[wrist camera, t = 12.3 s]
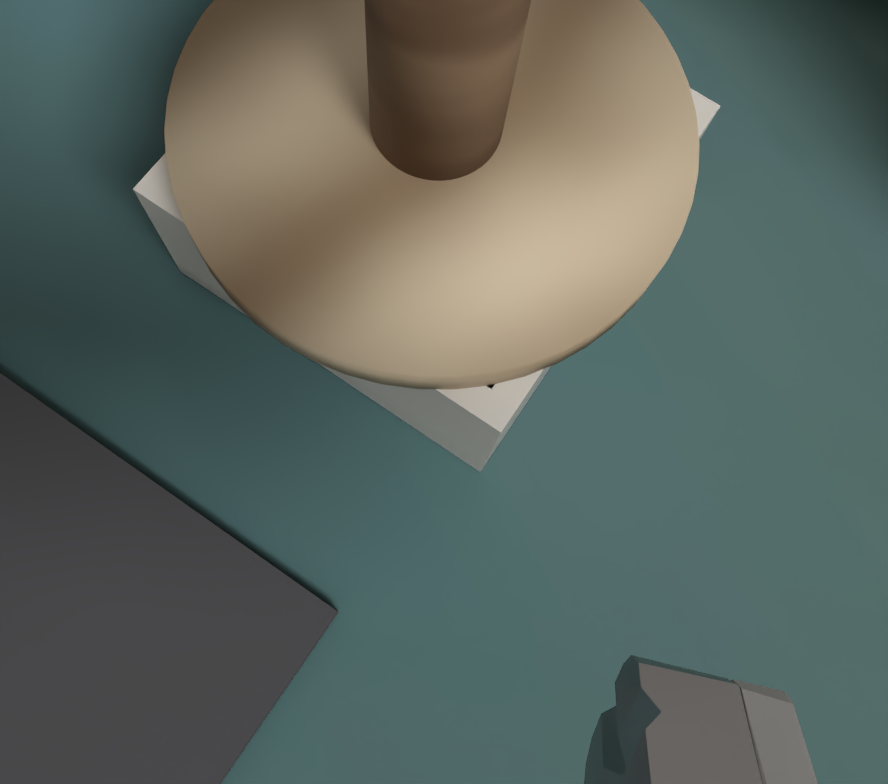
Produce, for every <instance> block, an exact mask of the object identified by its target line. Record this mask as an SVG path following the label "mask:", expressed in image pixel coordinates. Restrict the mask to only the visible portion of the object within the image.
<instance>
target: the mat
mask: <svg viewBox="0 0 888 784" xmlns="http://www.w3.org/2000/svg"><path fill="white" fill-rule="evenodd" d="M337 613H338V611H336V610H335V609H334V608H332V607H331V606H329V605H328V604H327V603H325V602H324V601H322V600H321V599H320V598H318V597H317V596H315V595H314V594H312V593H311V592H310V591H308V590H307V589H305V588H304V587H303V586H301V585H300V584H298V583H297V582H295V581H294V580H293V579H291V578H290V577H288V576H287V575H286V574H284V573H283V572H281V571H280V570H278V569H277V568H276V567H274V566H273V565H271V564H270V563H269V562H267V561H266V560H264V559H263V558H261V557H260V556H259V555H257V554H256V553H254V552H253V551H252V550H250V549H249V548H247V547H246V546H245V545H243V544H242V543H240V542H239V541H237V540H236V539H235V538H233V537H232V536H230V535H229V534H228V533H226V532H225V531H223V530H222V529H220V528H219V527H218V526H216V525H215V524H213V523H212V522H211V521H209V520H208V519H206V518H205V517H203V516H202V515H201V514H199V513H198V512H196V511H195V510H194V509H192V508H191V507H189V506H188V505H186V504H185V503H184V502H182V501H181V500H179V499H178V498H177V497H175V496H174V495H172V494H171V493H170V492H168V491H167V490H165V489H164V488H162V487H161V486H160V485H158V484H157V483H155V482H154V481H153V480H151V479H150V478H148V477H147V476H145V475H144V474H143V473H141V472H140V471H138V470H137V469H136V468H134V467H133V466H131V465H130V464H128V463H127V462H126V461H124V460H123V459H121V458H120V457H119V456H117V455H116V454H114V453H113V452H111V451H110V450H109V449H107V448H106V447H104V446H103V445H102V444H100V443H99V442H97V441H96V440H95V439H93V438H92V437H90V436H89V435H87V434H86V433H85V432H83V431H82V430H80V429H79V428H78V427H76V426H75V425H73V424H72V423H70V422H69V421H68V420H66V419H65V418H63V417H62V416H61V415H59V414H58V413H56V412H55V411H53V410H52V409H51V408H49V407H48V406H46V405H45V404H44V403H42V402H41V401H39V400H38V399H36V398H35V397H34V396H32V395H31V394H29V393H28V392H27V391H25V390H24V389H22V388H21V387H20V386H18V385H17V384H15V383H14V382H12V381H11V380H10V379H8V378H7V377H5V376H4V375H3V374H1V373H0V784H221V782H222V781H223V779H224V778H225V776H226V775H227V774H228V772H229V771H230V769H231V768H232V766H233V765H234V763H235V762H236V760H237V759H238V758H239V756H240V755H241V753H242V752H243V750H244V749H245V747H246V746H247V744H248V743H249V742H250V740H251V739H252V737H253V736H254V734H255V733H256V731H257V730H258V728H259V727H260V726H261V724H262V723H263V721H264V720H265V718H266V717H267V715H268V714H269V712H270V711H271V710H272V708H273V707H274V705H275V704H276V702H277V701H278V699H279V698H280V696H281V695H282V693H283V692H284V691H285V689H286V688H287V686H288V685H289V683H290V682H291V680H292V679H293V677H294V676H295V675H296V673H297V672H298V670H299V669H300V667H301V666H302V664H303V663H304V661H305V660H306V659H307V657H308V656H309V654H310V653H311V651H312V650H313V648H314V647H315V645H316V644H317V643H318V641H319V640H320V638H321V637H322V635H323V634H324V632H325V631H326V629H327V628H328V627H329V625H330V624H331V622H332V621H333V619H334V618H335V616H336V615H337Z"/></svg>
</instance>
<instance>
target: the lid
mask: <svg viewBox="0 0 888 784" xmlns="http://www.w3.org/2000/svg"><path fill="white" fill-rule="evenodd" d="M164 134H165V151H166V163H167V168H168V173H169V177H170V182H171V187H172V191H173V195H174V197H175V200H176V203H177V205H178V208H179V210H180V213H181V216H182V218H183V221H184V224H185V226H186V228H187V230H188V232H189V234H190V236H191V238H192V240H193V242H194V244H195V246H196V247H197V249H198V251H199V253H200V254H201V256H202V258H203V260H204V262H205V263H206V265H207V267H208V269H209V271H210V272H211V274H212V275H213V276H214V278H215V279H216V280H217V282H218V283H219V284H220V286H221V287H222V288H223V290H224V291H225V292H226V294H227V295H228V296H229V297H230V299H231V300H232V301H233V302H234V303H235V304H236V305H237V306H238V307H239V308H240V309H241V310H242V311H243V312H244V313H245V314H246V315H247V316H248V317H249V318H250V319H251V320H252V321H253V322H254V323H255V324H257V325H258V326H259V327H261V328H262V329H263V330H265V331H266V332H267V333H269V334H270V335H271V336H273V337H274V338H275V339H277V340H278V341H279V342H281V343H282V344H283V345H285V346H287V347H289V348H291V349H292V350H294V351H296V352H298V353H299V354H301V355H303V356H305V357H306V358H308V359H310V360H312V361H314V362H316V363H318V364H321V365H323V366H326V367H328V368H331V369H333V370H336V371H338V372H341V373H343V374H346V375H348V376H352V377H356V378H360V379H364V380H367V381H371V382H375V383H379V384H383V385H390V386H398V387H405V388H413V389H463V388H471V387H479V386H488V385H493V384H497V383H501V382H505V381H509V380H513V379H517V378H521V377H524V376H527V375H529V374H532V373H535V372H537V371H540V370H542V369H545V368H547V367H550V366H552V365H555V364H557V363H559V362H561V361H562V360H564V359H566V358H568V357H569V356H571V355H573V354H575V353H577V352H578V351H580V350H582V349H584V348H586V347H587V346H588V345H590V344H591V343H592V342H594V341H595V340H596V339H597V338H599V337H600V336H601V335H603V334H604V333H605V332H607V331H608V330H609V329H611V328H612V327H613V326H614V325H615V324H616V323H617V322H618V321H619V320H620V319H621V318H622V317H623V316H624V315H625V314H626V313H627V312H628V311H629V310H630V309H631V308H632V307H633V306H634V305H635V304H636V302H637V301H638V300H639V298H640V297H641V296H642V294H643V293H644V292H645V290H646V289H647V287H648V286H649V285H650V283H651V282H652V281H653V279H654V278H655V277H656V275H657V274H658V273H659V271H660V270H661V268H662V267H663V266H664V264H665V263H666V262H667V260H668V258H669V256H670V254H671V252H672V251H673V249H674V247H675V245H676V243H677V241H678V239H679V237H680V236H681V234H682V231H683V228H684V226H685V223H686V220H687V217H688V214H689V211H690V209H691V206H692V203H693V197H694V192H695V187H696V182H697V177H698V165H699V135H698V125H697V116H696V110H695V106H694V102H693V99H692V95H691V91H690V87H689V83H688V81H687V78H686V76H685V73H684V71H683V68H682V66H681V64H680V61H679V59H678V56H677V54H676V53H675V51H674V49H673V47H672V46H671V44H670V42H669V40H668V39H667V37H666V35H665V33H664V32H663V30H662V28H661V27H660V26H659V24H658V23H657V22H656V20H655V19H654V18H653V17H652V15H651V14H650V13H649V11H648V10H647V9H646V7H645V6H644V5H643V4H642V3H641V2H640V1H639V0H213V1H212V3H211V4H210V5H209V6H208V8H207V9H206V10H205V11H204V13H203V14H202V15H201V17H200V19H199V20H198V22H197V24H196V25H195V27H194V29H193V30H192V32H191V34H190V35H189V37H188V39H187V41H186V43H185V45H184V48H183V50H182V52H181V55H180V57H179V60H178V62H177V65H176V67H175V69H174V73H173V77H172V81H171V85H170V89H169V93H168V97H167V106H166V116H165V127H164Z"/></svg>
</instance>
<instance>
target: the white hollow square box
mask: <svg viewBox="0 0 888 784" xmlns="http://www.w3.org/2000/svg"><path fill="white" fill-rule="evenodd" d="M690 91H691V95H692V99H693V102H694V106H695V110H696V116H697V125H698V135H699V140H700V139H701V137H702V135H703V134H704V132H705V130H706V129H707V127H708V126H709V124H710V122H711V121H712V119H713V117H714V116H715V114H716V113H717V111H718V109H719V108H720V105H718V104H716V103H715V102H713V101H711V100H710V99H708V98H706V97H704V96H703V95H701V94H699V93H698V92H696V91H694V90H693V89H691V88H690ZM133 190H134V192H135V194H136V195H137V197H138V199H139V201H140V202H141V204H142V206H143V208H144V209H145V211H146V213H147V214H148V216H149V218H150V220H151V221H152V223H153V225H154V227H155V228H156V230H157V232H158V234H159V235H160V237H161V239H162V240H163V242H164V244H165V246H166V247H167V249H168V251H169V253H170V254H171V256H172V258H173V259H174V261H175V263H176V265H177V266H178V268H179V270H180V271H181V272H182V273H184V274H185V275H187V276H188V277H190V278H191V279H193V280H194V281H196V282H197V283H199V284H200V285H202V286H203V287H205V288H206V289H208V290H209V291H211V292H212V293H214V294H215V295H217V296H218V297H220V298H221V299H223V300H224V301H226V302H227V303H229V304H230V305H231V306H233V307H234V308H236V309H237V310H239V311H240V312H242V313H243V314H245V313H244V312H243V311H242V310H241V309H240V308H239V307H238V306H237V305H236V304H235V303H234V302H233V301H232V300H231V299H230V297H229V296H228V295H227V294H226V292H225V291H224V290H223V288H222V287H221V286H220V284H219V283H218V282H217V280H216V279H215V278H214V276H213V275H212V274H211V272H210V271H209V269H208V267H207V265H206V263H205V262H204V260H203V258H202V256H201V254H200V253H199V251H198V249H197V247H196V246H195V244H194V242H193V240H192V238H191V236H190V234H189V232H188V230H187V228H186V226H185V224H184V221H183V218H182V216H181V213H180V210H179V208H178V205H177V203H176V200H175V197H174V195H173V191H172V187H171V182H170V177H169V173H168V168H167V163H166V153H165V154H164V155H163V156H162V157H161V158H160V159H159V160H158V162H157V163H156V164H155V165H154V166H153V167H152V168H151V169H150V170H149V172H148V173H147V174H146V175H145V176H144V177H143V178H142V179H141V180H140V182H139V183H138V184H137V185H136V186H135V187H134V188H133ZM245 315H246V314H245ZM246 316H247V315H246ZM320 365H321V364H320ZM321 366H323V365H321ZM323 367H324V368H326V369H327V370H329V371H330V372H332V373H333V374H335V375H336V376H337V377H339V378H340V379H342V380H343V381H345V382H346V383H348V384H349V385H351V386H352V387H354V388H355V389H357V390H358V391H360V392H361V393H363V394H364V395H366V396H367V397H369V398H370V399H372V400H373V401H375V402H376V403H378V404H379V405H381V406H382V407H384V408H385V409H387V410H388V411H390V412H391V413H393V414H394V415H396V416H397V417H399V418H400V419H402V420H403V421H405V422H406V423H408V424H409V425H411V426H412V427H414V428H415V429H417V430H418V431H420V432H421V433H423V434H424V435H426V436H427V437H429V438H430V439H432V440H433V441H435V442H436V443H438V444H439V445H441V446H442V447H443V448H445V449H446V450H448V451H449V452H451V453H452V454H454V455H455V456H457V457H458V458H460V459H461V460H463V461H464V462H466V463H467V464H469V465H470V466H472V467H473V468H475V469H476V470H478V471H479V472H481V470H482V469H483V467H484V466H485V464H486V463H487V461H488V460H489V458H490V457H491V455H492V454H493V452H494V451H495V449H496V448H497V446H498V445H499V443H500V442H501V440H502V439H503V437H504V436H505V434H506V433H507V431H508V430H509V428H510V427H511V425H512V424H513V422H514V421H515V420H516V418H517V417H518V415H519V414H520V412H521V411H522V409H523V408H524V406H525V405H526V403H527V402H528V400H529V399H530V397H531V396H532V394H533V393H534V391H535V390H536V388H537V387H538V385H539V384H540V382H541V381H542V379H543V378H544V376H545V375H546V373H547V372H548V370H549V369H550V367H551V366H550V367H547V368H545V369H542V370H540V371H537V372H535V373H532V374H529V375H527V376H524V377H521V378H517V379H513V380H509V381H505V382H501V383H497V384H493V385H488V386H479V387H471V388H463V389H413V388H405V387H398V386H390V385H383V384H379V383H375V382H371V381H367V380H364V379H360V378H356V377H352V376H348V375H346V374H343V373H341V372H338V371H336V370H333V369H331V368H328V367H326V366H323Z"/></svg>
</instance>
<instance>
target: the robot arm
mask: <svg viewBox="0 0 888 784" xmlns="http://www.w3.org/2000/svg"><path fill="white" fill-rule="evenodd" d="M615 693H616V706H615V707H613V708H611V709H609V710H607V711H605V712H603V713H601V716H600V718H599V721H598V723H597V726H596V728H595V731H594V733H593V736H592V739H591V744H590V748H589V752H588V757H587V761H586V768H585V780H584V784H818V782H817V779H816V776H815V773H814V769H813V766H812V763H811V760H810V756H809V753H808V750H807V747H806V744H805V740H804V737H803V734H802V731H801V728H800V724H799V721H798V718H797V715H796V711H795V708H794V705H793V702H792V700H791V699H790V698H789V696H788V695H787V694H786V693H785V692H784V691H780V690H776V689H772V688H768V687H763V686H759V685H755V684H751V683H747V682H742V681H738V680H734V679H733V680H731V681H730V680H729V679H727V678H723V677H719V676H715V675H710V674H706V673H702V672H698V671H694V670H690V669H686V668H682V667H678V666H674V665H670V664H665V663H661V662H657V661H653V660H649V659H645V658H641V657H637V656H633V655H631V656H630V657H629V658H628V659H627V660H626V662H625V663H624V664H623V666H622V668H621V670H620V672H619V675H618V677H617V679H616V681H615Z"/></svg>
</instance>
